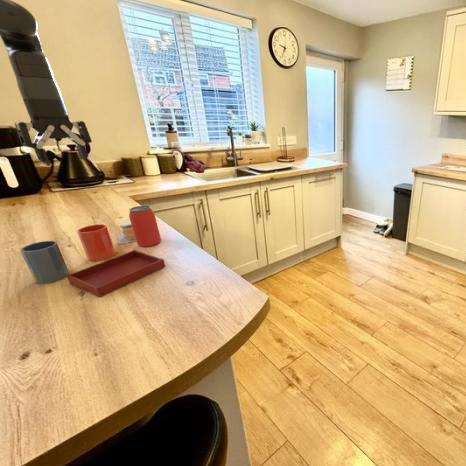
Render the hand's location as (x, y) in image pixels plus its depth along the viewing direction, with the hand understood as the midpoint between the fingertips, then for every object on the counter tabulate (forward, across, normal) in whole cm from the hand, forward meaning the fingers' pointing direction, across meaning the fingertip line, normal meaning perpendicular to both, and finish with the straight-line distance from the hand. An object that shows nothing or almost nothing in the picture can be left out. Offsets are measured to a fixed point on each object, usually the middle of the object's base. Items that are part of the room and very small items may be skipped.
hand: (65, 160), depth 81 cm
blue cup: (+27, +15, +11) cm, 33 cm away
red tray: (+27, +7, +25) cm, 37 cm away
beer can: (+27, -9, +12) cm, 31 cm away
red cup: (+27, +3, +9) cm, 28 cm away
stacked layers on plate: (+27, -10, +2) cm, 29 cm away
